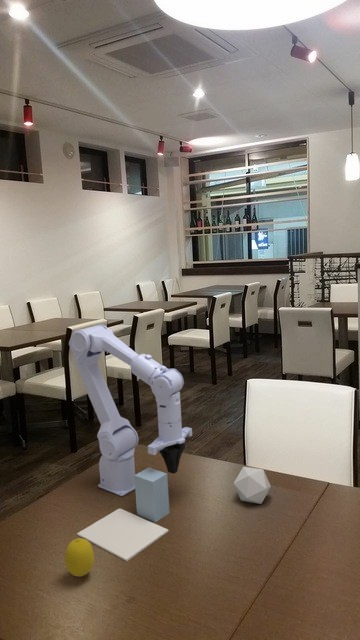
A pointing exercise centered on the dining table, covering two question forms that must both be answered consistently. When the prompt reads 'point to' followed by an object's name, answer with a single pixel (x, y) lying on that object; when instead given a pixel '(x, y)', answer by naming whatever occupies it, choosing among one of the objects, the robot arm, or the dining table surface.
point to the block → (152, 494)
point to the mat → (123, 533)
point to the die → (252, 485)
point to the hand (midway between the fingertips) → (172, 471)
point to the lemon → (79, 557)
